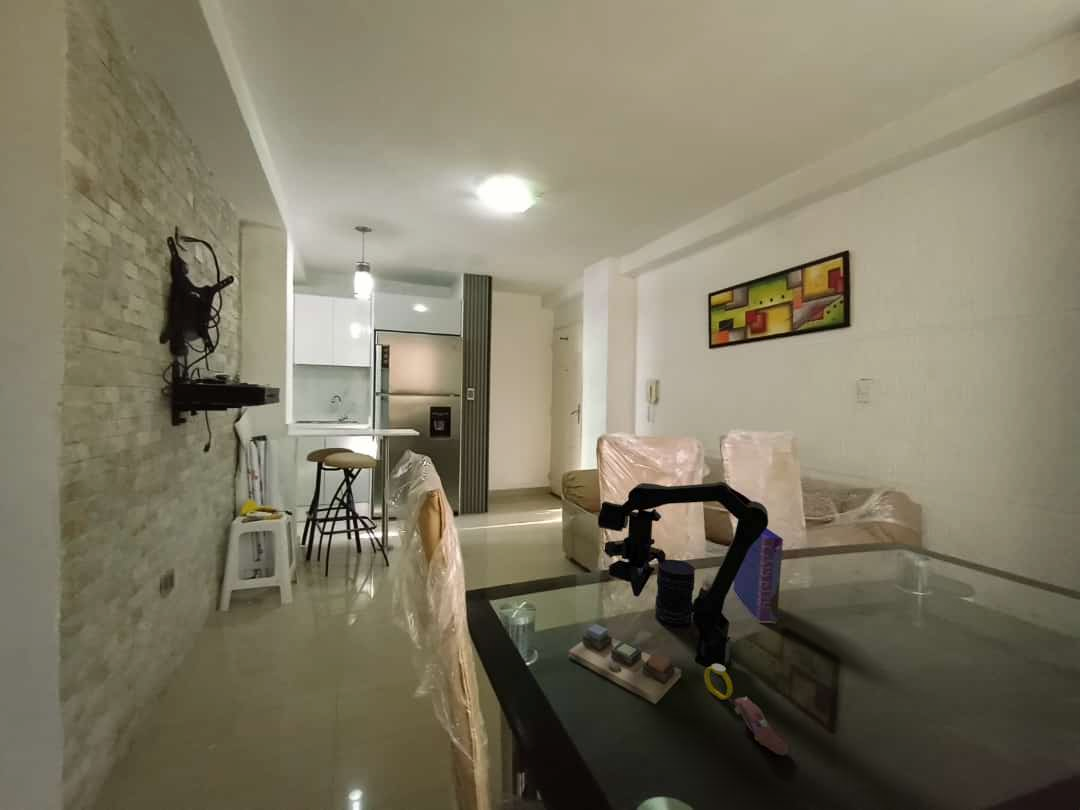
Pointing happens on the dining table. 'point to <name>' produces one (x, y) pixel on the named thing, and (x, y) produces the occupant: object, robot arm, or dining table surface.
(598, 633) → the slate button
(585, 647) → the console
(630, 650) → the sage button
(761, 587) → the cereal box
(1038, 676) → the dining table surface
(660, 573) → the storage jar
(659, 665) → the terracotta button
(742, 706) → the pink shoe
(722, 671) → the gold ring
